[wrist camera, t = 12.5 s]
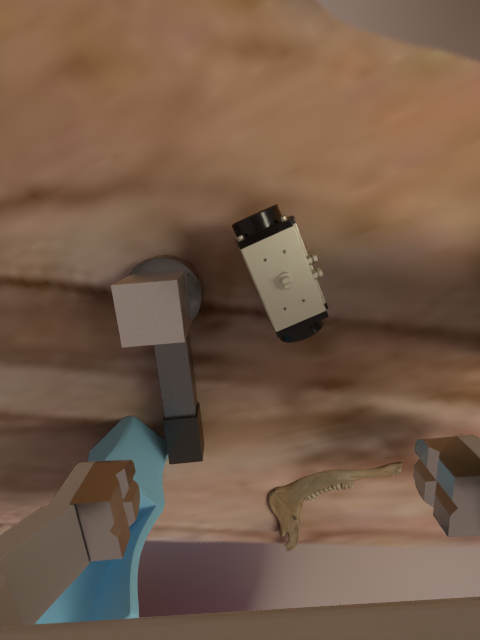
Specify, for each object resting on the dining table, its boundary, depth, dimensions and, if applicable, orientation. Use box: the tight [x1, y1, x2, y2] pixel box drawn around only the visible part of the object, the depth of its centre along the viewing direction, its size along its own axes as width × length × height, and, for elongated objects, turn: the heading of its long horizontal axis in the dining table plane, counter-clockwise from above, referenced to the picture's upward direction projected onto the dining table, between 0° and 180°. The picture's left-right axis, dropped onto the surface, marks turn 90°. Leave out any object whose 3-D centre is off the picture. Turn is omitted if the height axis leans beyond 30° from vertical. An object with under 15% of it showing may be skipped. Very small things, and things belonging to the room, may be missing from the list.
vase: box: [35, 416, 168, 624], centre depth 34 cm, size 8×8×20 cm
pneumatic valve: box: [231, 204, 328, 343], centre depth 33 cm, size 6×12×12 cm, turn 24°
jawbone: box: [268, 463, 403, 551], centre depth 47 cm, size 9×20×2 cm, turn 129°
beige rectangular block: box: [111, 269, 192, 348], centre depth 32 cm, size 5×5×7 cm
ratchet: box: [129, 255, 204, 464], centre depth 37 cm, size 8×24×8 cm, turn 4°
